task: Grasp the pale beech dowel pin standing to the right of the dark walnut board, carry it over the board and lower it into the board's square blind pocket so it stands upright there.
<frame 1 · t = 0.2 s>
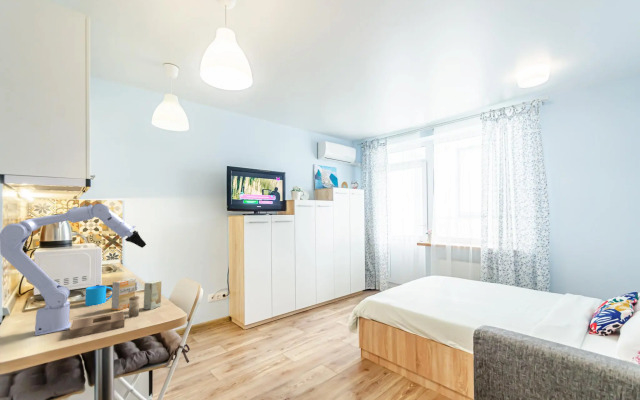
hand: (143, 245, 127), 30 cm above the table, tool tilted 45°, fingers open, 7 cm apart
socket board: (98, 327, 109), on the table
mug: (100, 302, 143), on the table
supplement box: (123, 308, 133), on the table
skincare box: (152, 308, 133), on the table
pin: (133, 315, 122), on the table
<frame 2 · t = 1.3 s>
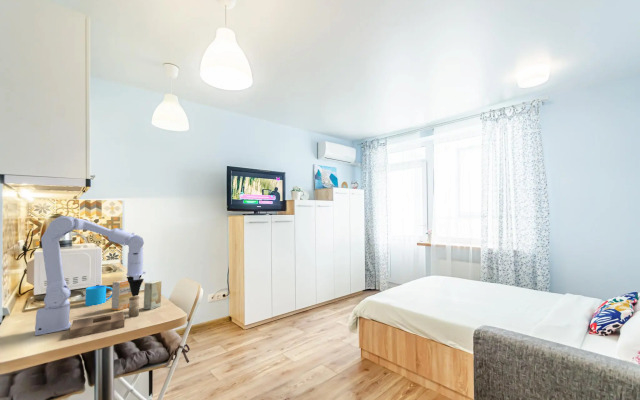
hand: (134, 293, 122), 10 cm above the table, tool pointing down, fingers open, 7 cm apart
nothing on the table moved.
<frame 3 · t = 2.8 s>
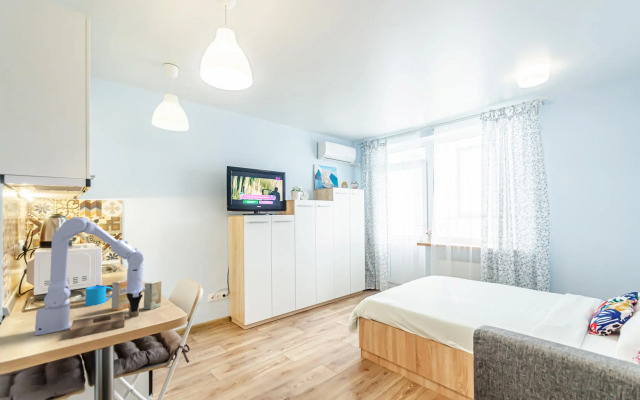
hand: (134, 310, 122), 2 cm above the table, tool pointing down, fingers closed on pin, 4 cm apart
pin: (133, 315, 122), on the table, touching gripper
everything else where it was.
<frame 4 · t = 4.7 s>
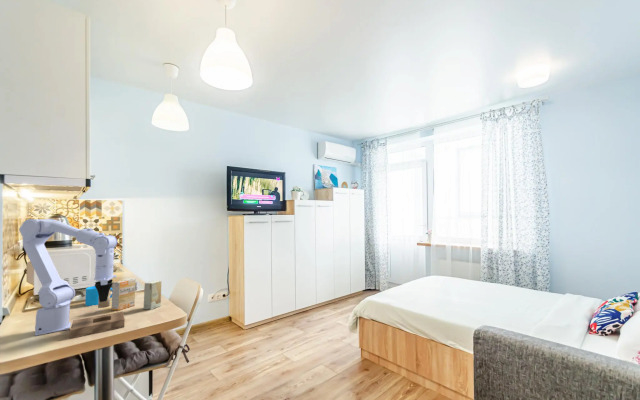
hand: (103, 300, 110), 10 cm above the table, tool pointing down, fingers closed on pin, 4 cm apart
pin: (103, 306, 110), point 8 cm above the table, touching gripper
everything else where it was.
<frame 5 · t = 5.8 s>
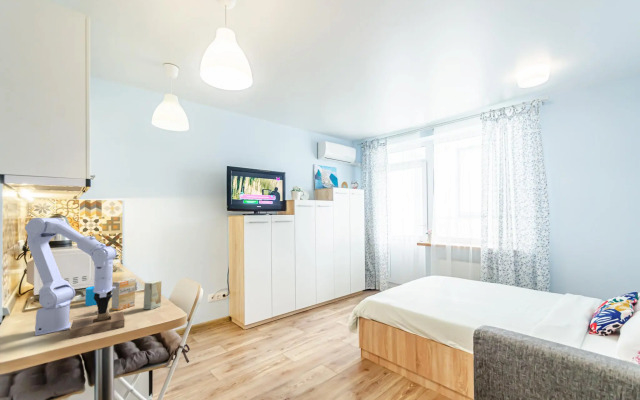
hand: (102, 312, 110), 6 cm above the table, tool pointing down, fingers closed on pin, 4 cm apart
pin: (103, 318, 110), point 3 cm above the table, touching gripper
everything else where it was.
when the fingers open (4 cm above the table, at t = 6.7 s): pin stays where it is, resting on socket board.
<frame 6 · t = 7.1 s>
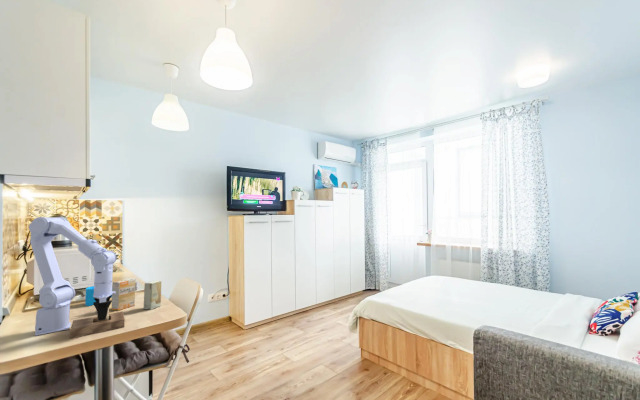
hand: (102, 316, 110), 4 cm above the table, tool pointing down, fingers open, 7 cm apart
pin: (102, 325, 109), point 1 cm above the table, touching socket board
everything else where it was.
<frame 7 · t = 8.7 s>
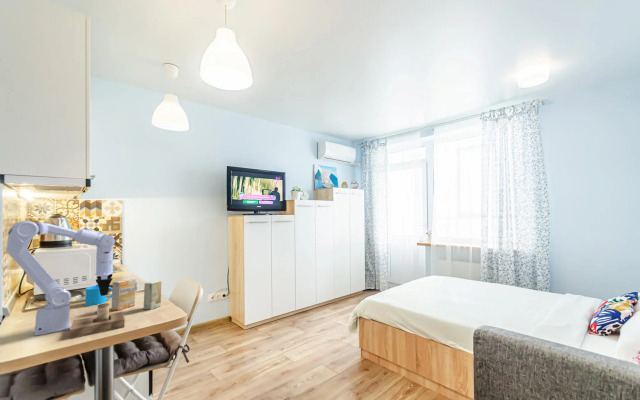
hand: (104, 293, 120), 10 cm above the table, tool pointing down, fingers open, 7 cm apart
nothing on the table moved.
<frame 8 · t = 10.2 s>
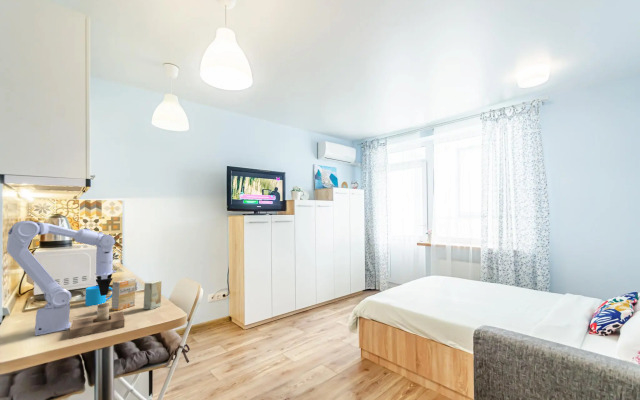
hand: (104, 293, 120), 10 cm above the table, tool pointing down, fingers open, 7 cm apart
nothing on the table moved.
at the end: pin 0.2 cm from the target spot on the socket board, point 0.6 cm above the socket board's base; pin tilted 0°; the gripper is holding nothing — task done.
